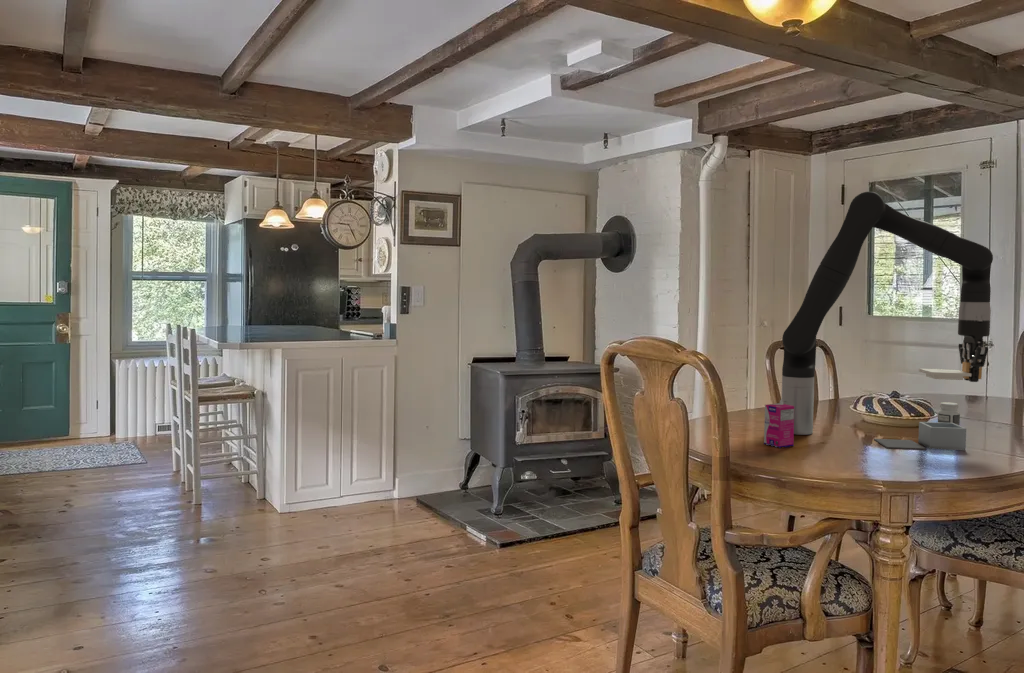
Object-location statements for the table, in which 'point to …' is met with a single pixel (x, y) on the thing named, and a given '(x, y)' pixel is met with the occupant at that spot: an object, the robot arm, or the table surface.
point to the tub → (942, 436)
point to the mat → (899, 444)
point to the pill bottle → (949, 413)
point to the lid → (950, 373)
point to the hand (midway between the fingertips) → (971, 380)
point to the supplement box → (779, 425)
